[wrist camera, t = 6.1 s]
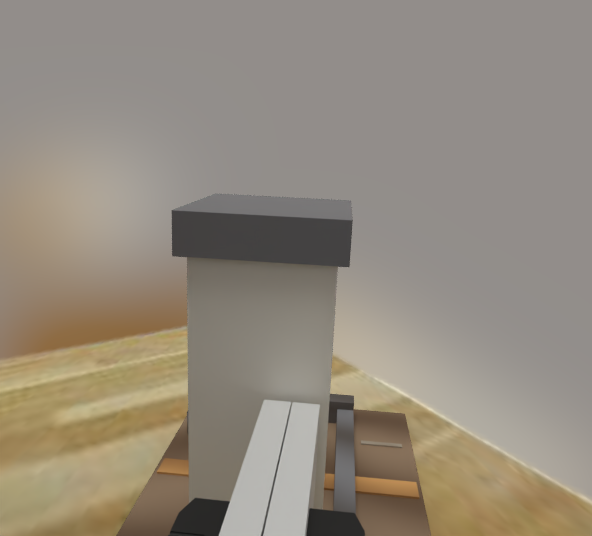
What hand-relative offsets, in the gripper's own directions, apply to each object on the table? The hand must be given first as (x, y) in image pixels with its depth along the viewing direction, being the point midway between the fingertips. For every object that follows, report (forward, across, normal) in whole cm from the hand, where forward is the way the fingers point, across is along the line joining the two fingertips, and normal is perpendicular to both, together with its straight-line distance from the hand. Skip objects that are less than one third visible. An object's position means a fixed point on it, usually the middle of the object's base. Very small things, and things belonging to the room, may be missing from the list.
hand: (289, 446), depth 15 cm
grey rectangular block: (+2, -1, -9) cm, 9 cm away
